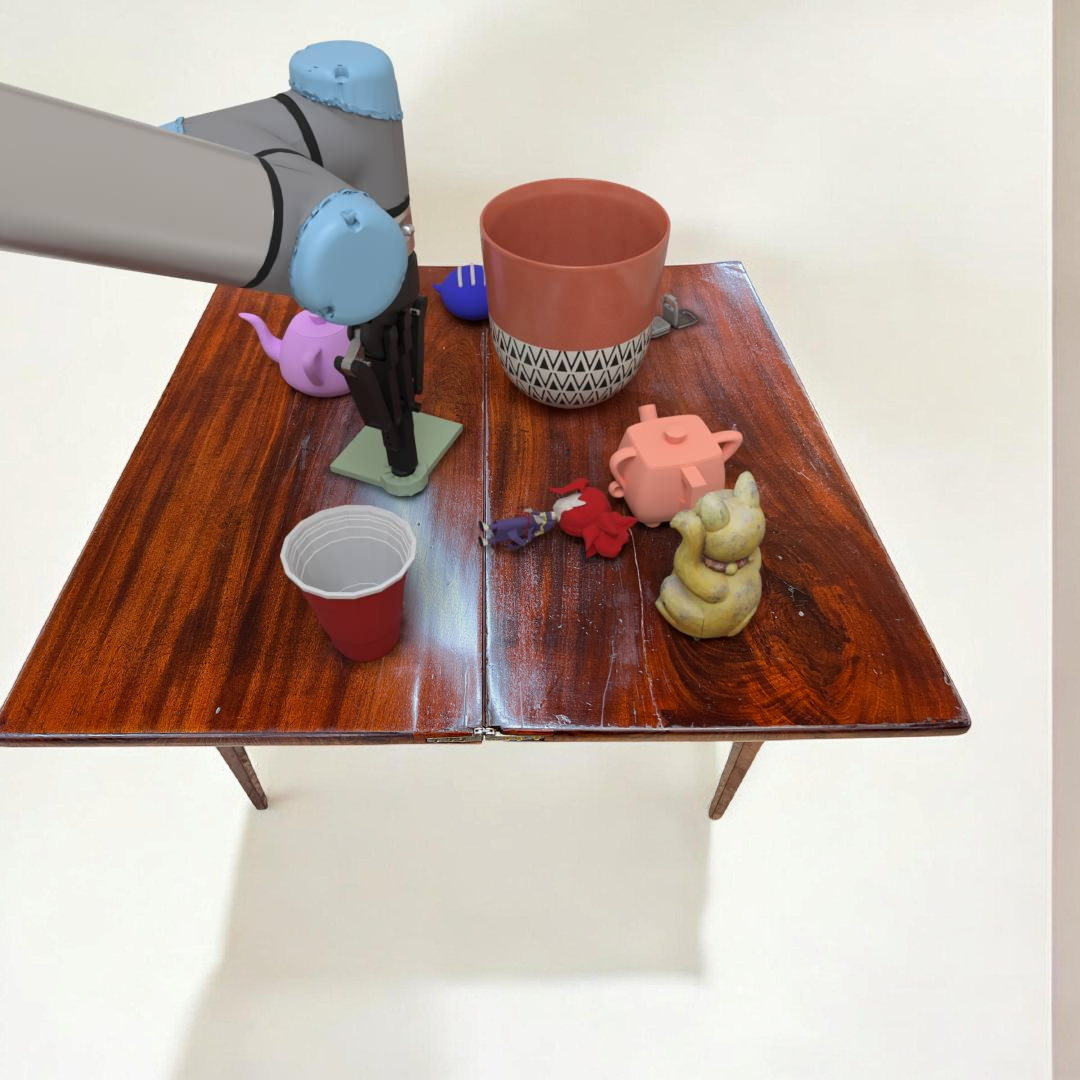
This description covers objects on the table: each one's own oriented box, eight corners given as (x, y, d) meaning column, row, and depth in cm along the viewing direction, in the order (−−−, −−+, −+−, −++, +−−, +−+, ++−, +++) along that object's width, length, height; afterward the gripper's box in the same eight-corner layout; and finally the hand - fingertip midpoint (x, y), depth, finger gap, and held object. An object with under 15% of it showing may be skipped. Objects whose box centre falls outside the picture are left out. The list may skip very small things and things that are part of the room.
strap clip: (648, 340, 110) (651, 312, 107) (634, 329, 112) (637, 300, 109) (700, 322, 113) (705, 293, 110) (686, 311, 115) (690, 282, 112)
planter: (526, 460, 94) (525, 284, 78) (463, 365, 106) (451, 196, 90) (680, 416, 99) (707, 243, 84) (603, 330, 111) (615, 165, 96)
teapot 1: (403, 376, 104) (394, 312, 98) (302, 421, 98) (285, 356, 92) (352, 333, 111) (341, 271, 104) (254, 373, 105) (236, 309, 98)
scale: (414, 507, 89) (412, 489, 87) (324, 478, 92) (320, 461, 90) (471, 432, 97) (470, 415, 95) (386, 408, 100) (384, 391, 98)
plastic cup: (453, 620, 79) (443, 529, 70) (377, 705, 72) (355, 617, 64) (362, 572, 82) (342, 481, 74) (283, 649, 76) (250, 559, 67)
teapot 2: (638, 449, 95) (645, 377, 88) (737, 488, 91) (754, 416, 84) (585, 511, 88) (589, 438, 81) (690, 556, 84) (704, 483, 77)
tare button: (408, 486, 89) (406, 475, 88) (391, 481, 90) (389, 470, 88) (417, 474, 90) (416, 463, 89) (401, 469, 91) (399, 458, 90)
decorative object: (438, 242, 114) (512, 255, 114) (436, 280, 118) (508, 292, 118) (424, 286, 107) (504, 300, 107) (423, 325, 111) (499, 338, 112)
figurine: (471, 525, 86) (611, 496, 89) (492, 597, 82) (638, 564, 85) (471, 488, 80) (620, 459, 84) (495, 564, 76) (650, 530, 80)
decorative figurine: (708, 563, 83) (734, 446, 73) (777, 612, 79) (815, 495, 68) (641, 616, 79) (658, 499, 68) (710, 671, 75) (740, 555, 64)
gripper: (369, 301, 66) (404, 515, 84) (447, 228, 75) (464, 436, 92) (288, 281, 68) (338, 494, 86) (372, 212, 77) (402, 419, 94)
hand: (403, 464), depth 89 cm, fingers closed
